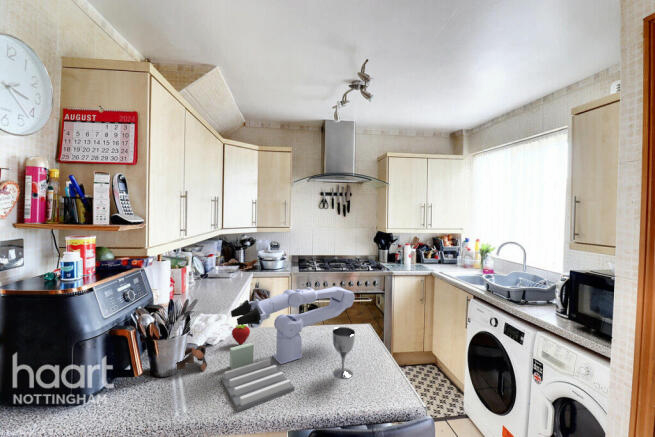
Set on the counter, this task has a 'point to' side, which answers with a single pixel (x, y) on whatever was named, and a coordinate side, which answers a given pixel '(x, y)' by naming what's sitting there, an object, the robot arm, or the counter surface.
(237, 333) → the strawberry
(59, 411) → the counter surface
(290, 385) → the rack
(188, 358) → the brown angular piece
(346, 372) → the wine glass
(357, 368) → the counter surface
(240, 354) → the mint green upright block
